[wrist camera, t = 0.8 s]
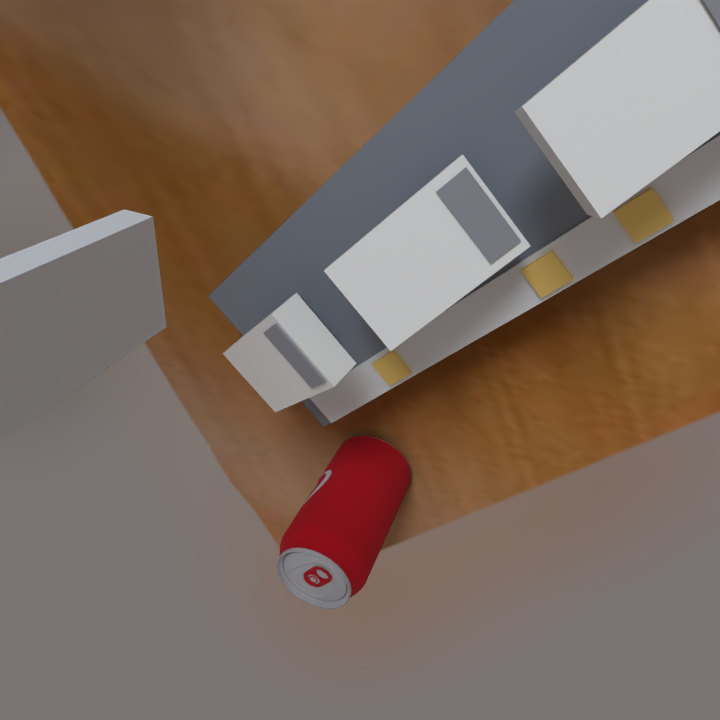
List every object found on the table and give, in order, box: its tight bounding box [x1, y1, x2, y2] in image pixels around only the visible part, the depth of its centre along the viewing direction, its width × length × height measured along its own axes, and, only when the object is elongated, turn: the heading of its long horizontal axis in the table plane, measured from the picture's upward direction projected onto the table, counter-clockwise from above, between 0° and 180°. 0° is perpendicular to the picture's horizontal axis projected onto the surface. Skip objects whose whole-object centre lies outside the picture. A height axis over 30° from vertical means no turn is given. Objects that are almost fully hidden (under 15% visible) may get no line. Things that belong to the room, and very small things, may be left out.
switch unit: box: [209, 0, 720, 427], centre depth 31 cm, size 12×32×6 cm, turn 133°
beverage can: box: [277, 436, 411, 609], centre depth 41 cm, size 6×6×12 cm
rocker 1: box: [223, 293, 356, 412], centre depth 34 cm, size 5×8×2 cm, turn 133°
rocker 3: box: [514, 0, 720, 218], centre depth 21 cm, size 5×8×2 cm, turn 133°
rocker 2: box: [324, 155, 530, 351], centre depth 27 cm, size 5×8×2 cm, turn 133°
